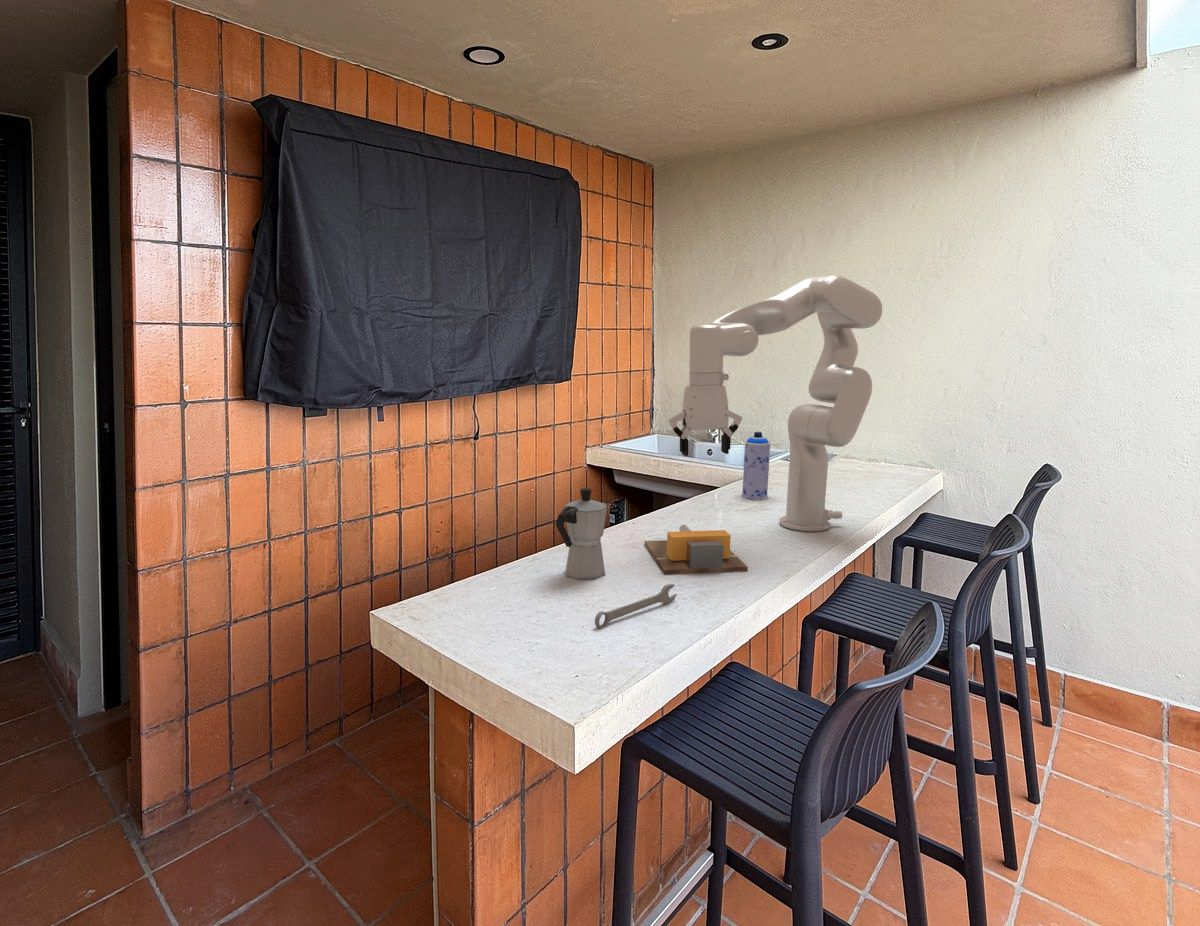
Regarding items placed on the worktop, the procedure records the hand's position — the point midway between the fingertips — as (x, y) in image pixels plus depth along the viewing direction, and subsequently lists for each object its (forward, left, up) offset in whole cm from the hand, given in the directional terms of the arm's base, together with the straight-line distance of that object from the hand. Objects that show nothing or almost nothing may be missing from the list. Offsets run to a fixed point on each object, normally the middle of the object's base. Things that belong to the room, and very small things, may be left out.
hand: (705, 453), depth 162 cm
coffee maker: (+31, +18, -22) cm, 42 cm away
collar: (+5, +13, -20) cm, 25 cm away
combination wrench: (+23, +39, -22) cm, 50 cm away
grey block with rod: (+5, +10, -21) cm, 24 cm away
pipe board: (+5, +10, -22) cm, 24 cm away
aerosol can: (-29, -43, -22) cm, 57 cm away
